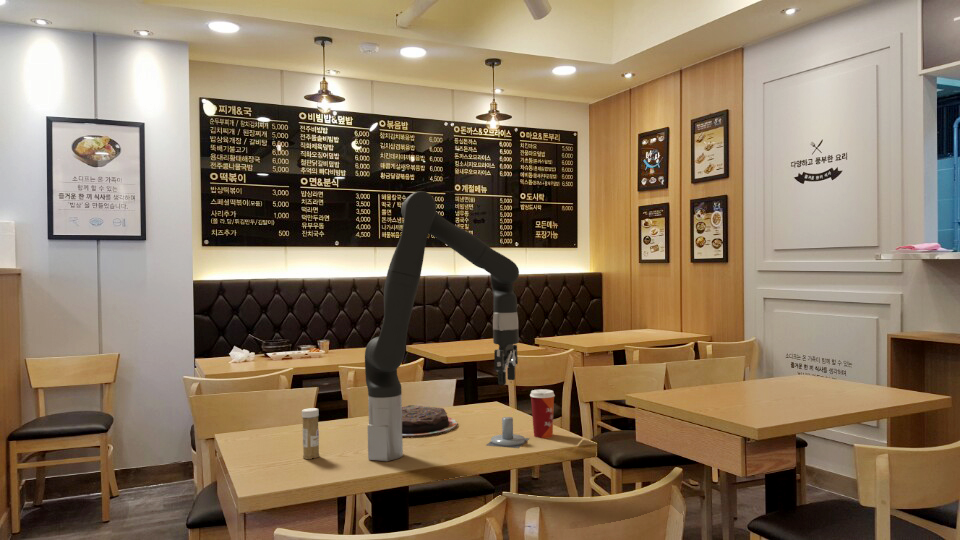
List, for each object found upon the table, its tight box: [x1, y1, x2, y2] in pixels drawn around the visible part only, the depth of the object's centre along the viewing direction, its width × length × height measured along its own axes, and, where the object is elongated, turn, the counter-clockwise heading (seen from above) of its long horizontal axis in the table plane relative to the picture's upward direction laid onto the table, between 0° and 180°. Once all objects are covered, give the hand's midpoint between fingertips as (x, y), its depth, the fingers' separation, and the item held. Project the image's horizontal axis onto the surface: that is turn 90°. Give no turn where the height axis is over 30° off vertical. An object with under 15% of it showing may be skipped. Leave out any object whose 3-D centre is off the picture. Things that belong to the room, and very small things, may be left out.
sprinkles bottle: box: [301, 407, 320, 460], centre depth 178 cm, size 5×5×13 cm
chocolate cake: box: [402, 404, 458, 439], centre depth 211 cm, size 28×28×7 cm
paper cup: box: [529, 388, 556, 439], centre depth 195 cm, size 8×8×14 cm
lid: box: [490, 416, 526, 447], centre depth 188 cm, size 10×10×7 cm
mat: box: [485, 437, 530, 449], centre depth 188 cm, size 11×10×1 cm
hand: (506, 382), depth 188 cm, fingers open, 8 cm apart
